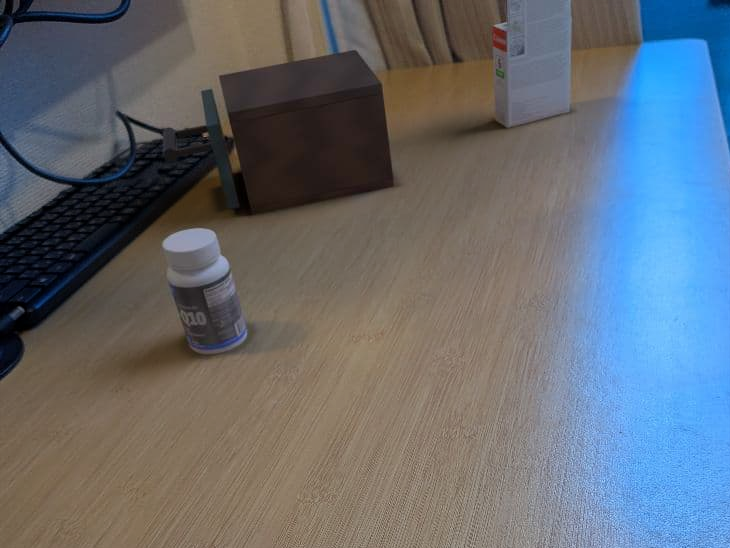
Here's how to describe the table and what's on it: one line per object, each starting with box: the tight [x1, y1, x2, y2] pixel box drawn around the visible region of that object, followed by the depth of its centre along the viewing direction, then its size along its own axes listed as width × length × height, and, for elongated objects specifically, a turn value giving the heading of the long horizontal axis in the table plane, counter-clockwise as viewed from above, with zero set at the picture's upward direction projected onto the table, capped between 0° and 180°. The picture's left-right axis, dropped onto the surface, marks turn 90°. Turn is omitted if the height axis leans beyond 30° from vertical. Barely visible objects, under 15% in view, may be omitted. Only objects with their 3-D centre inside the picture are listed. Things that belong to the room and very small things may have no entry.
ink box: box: [492, 0, 572, 129], centre depth 90 cm, size 4×8×15 cm, turn 110°
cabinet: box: [218, 49, 395, 216], centre depth 85 cm, size 15×14×10 cm
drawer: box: [162, 88, 241, 210], centre depth 85 cm, size 18×13×8 cm
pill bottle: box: [161, 227, 248, 355], centre depth 63 cm, size 5×5×8 cm
